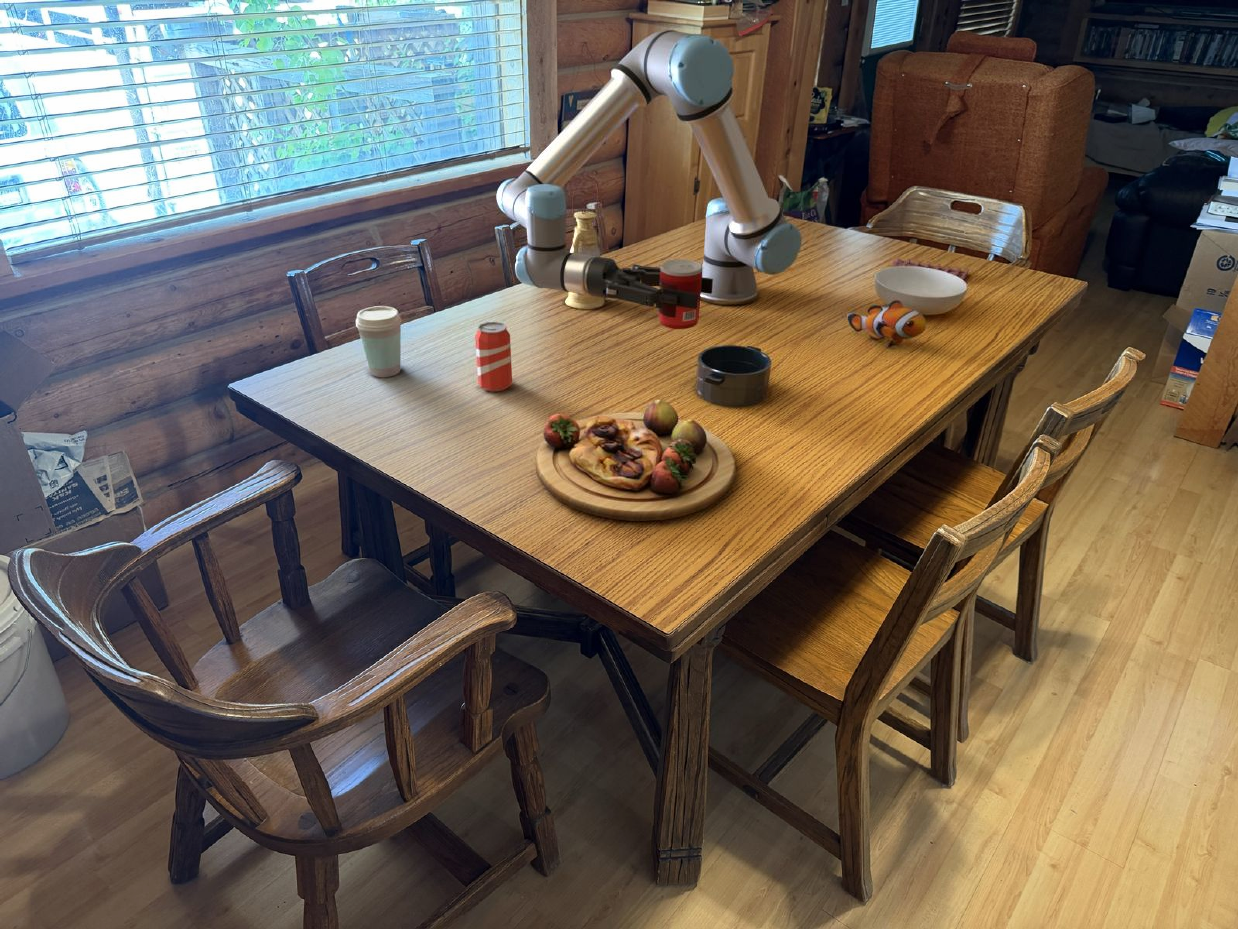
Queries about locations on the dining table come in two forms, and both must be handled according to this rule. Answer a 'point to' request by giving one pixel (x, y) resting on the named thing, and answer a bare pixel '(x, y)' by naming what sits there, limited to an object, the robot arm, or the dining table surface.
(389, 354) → the coffee cup
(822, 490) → the dining table surface
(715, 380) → the pot handles
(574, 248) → the lantern
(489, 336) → the beverage can
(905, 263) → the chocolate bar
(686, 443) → the wooden plate
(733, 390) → the pot
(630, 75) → the robot arm
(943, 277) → the serving bowl
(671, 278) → the canned food
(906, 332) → the fish
